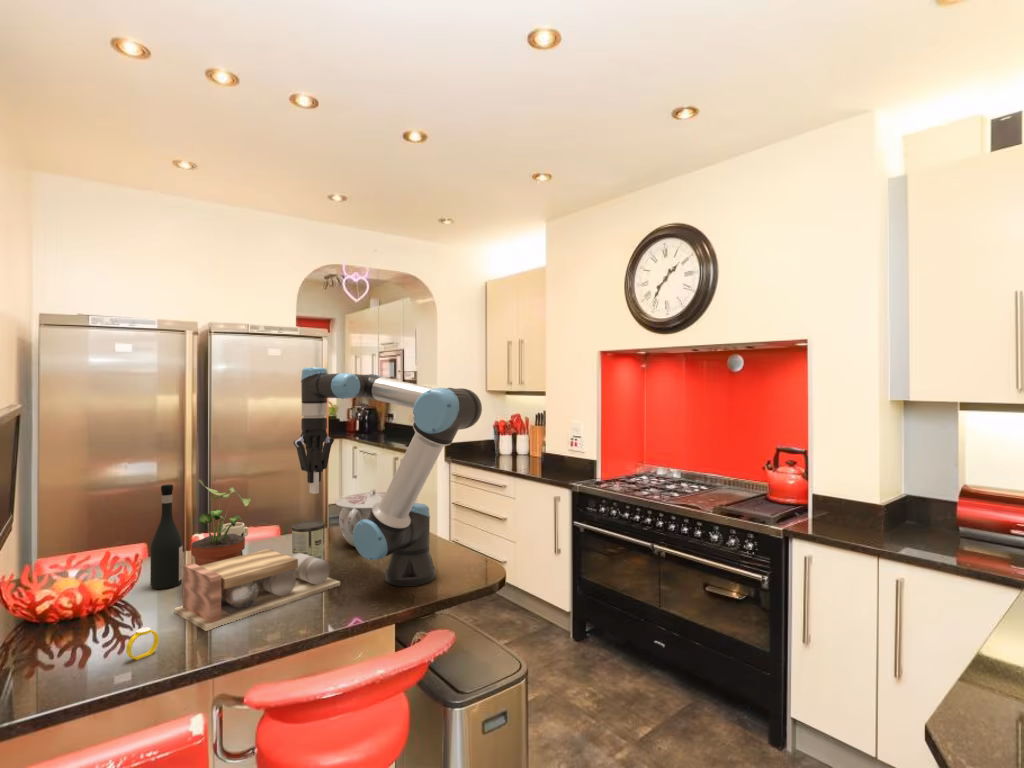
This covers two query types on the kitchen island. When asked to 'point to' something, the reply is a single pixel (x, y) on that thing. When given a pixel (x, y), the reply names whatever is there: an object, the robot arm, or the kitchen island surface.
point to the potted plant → (218, 535)
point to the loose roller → (240, 595)
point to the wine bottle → (166, 547)
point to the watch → (138, 632)
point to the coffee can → (309, 539)
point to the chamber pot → (356, 511)
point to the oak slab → (251, 567)
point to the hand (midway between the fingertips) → (314, 492)
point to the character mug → (236, 530)
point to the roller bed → (272, 591)
